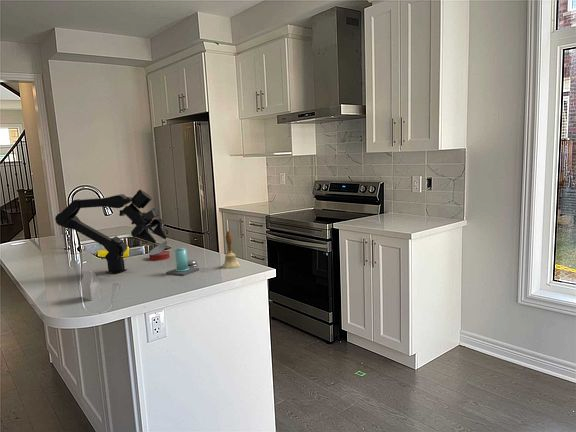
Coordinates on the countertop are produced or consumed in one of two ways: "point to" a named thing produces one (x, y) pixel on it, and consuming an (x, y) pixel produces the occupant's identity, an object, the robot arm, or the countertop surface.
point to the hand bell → (230, 254)
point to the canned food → (159, 252)
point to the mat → (174, 272)
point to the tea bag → (90, 286)
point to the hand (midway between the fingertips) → (160, 240)
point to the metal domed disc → (192, 263)
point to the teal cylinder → (181, 260)
